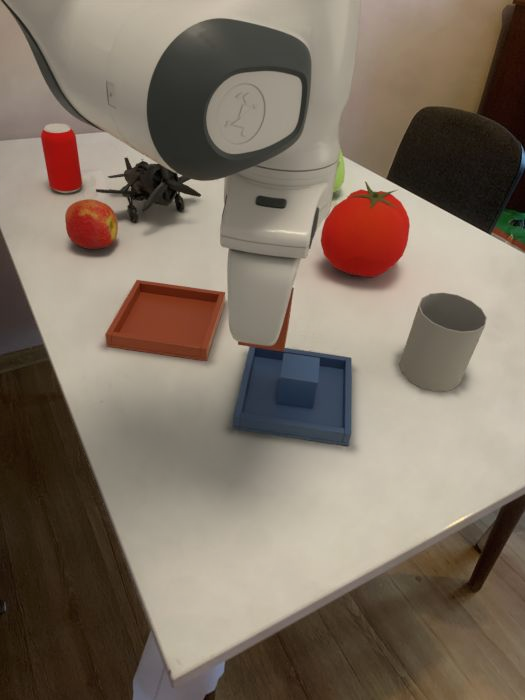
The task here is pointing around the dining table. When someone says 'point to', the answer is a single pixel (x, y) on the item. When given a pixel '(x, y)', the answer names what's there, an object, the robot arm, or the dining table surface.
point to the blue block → (298, 380)
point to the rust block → (283, 334)
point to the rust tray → (167, 320)
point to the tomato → (366, 233)
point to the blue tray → (291, 421)
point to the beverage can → (61, 158)
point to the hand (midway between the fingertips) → (264, 321)
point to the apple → (91, 224)
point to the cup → (441, 341)
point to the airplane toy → (151, 187)
